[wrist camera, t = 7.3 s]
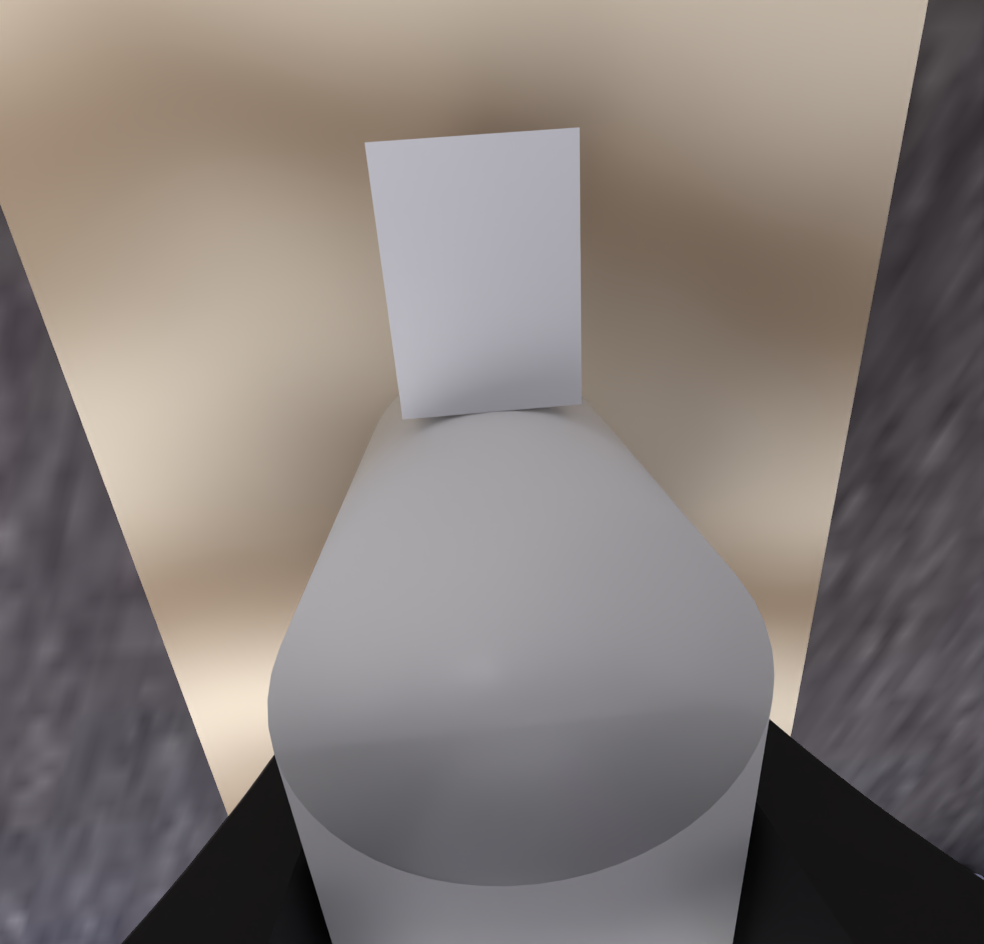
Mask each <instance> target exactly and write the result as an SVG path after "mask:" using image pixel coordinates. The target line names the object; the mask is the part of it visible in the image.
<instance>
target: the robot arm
mask: <svg viewBox="0 0 984 944" xmlns="http://www.w3.org/2000/svg"><path fill="white" fill-rule="evenodd" d="M122 944H332V941H331V938H330V935H329V931H328V928H327V925H326V922H325V918H324V915H323V912H322V908H321V905H320V902H319V899H318V895H317V892H316V889H315V886H314V882H313V879H312V876H311V872H310V869H309V866H308V863H307V859H306V856H305V853H304V850H303V846H302V843H301V840H300V836H299V833H298V830H297V827H296V823H295V820H294V817H293V814H292V810H291V807H290V804H289V801H288V797H287V794H286V791H285V787H284V784H283V781H282V778H281V774H280V771H279V768H278V765H277V761H276V758H275V755H273V757H272V758H271V760H270V761H269V762H268V764H267V765H266V766H265V768H264V769H263V771H262V772H261V773H260V775H259V776H258V778H257V779H256V780H255V782H254V783H253V784H252V786H251V787H250V789H249V790H248V791H247V793H246V794H245V795H244V797H243V798H242V799H241V800H240V802H239V803H238V804H237V806H236V807H235V808H234V809H233V811H232V812H231V813H230V814H229V816H228V817H227V818H226V820H225V821H224V822H223V823H222V825H221V826H220V827H219V828H218V830H217V831H216V832H215V834H214V835H213V836H212V837H211V839H210V840H209V841H208V842H207V844H206V845H205V846H204V847H203V849H202V850H201V851H200V853H199V854H198V855H197V856H196V858H195V859H194V860H193V861H192V863H191V864H190V865H189V866H188V867H187V869H186V870H185V871H184V872H183V873H182V875H181V876H180V877H179V878H178V879H177V881H176V882H175V883H174V884H173V885H172V886H171V888H170V889H169V890H168V891H167V892H166V894H165V895H164V896H163V897H162V898H161V899H160V901H159V902H158V903H157V904H156V905H155V906H154V908H153V909H152V910H151V911H150V912H149V913H148V914H147V916H146V917H145V918H144V919H143V920H142V921H141V922H140V923H139V925H138V926H137V927H136V928H135V929H134V930H133V931H132V932H131V934H130V935H129V936H128V937H127V938H126V939H125V940H124V941H123V943H122ZM733 944H984V878H983V876H982V875H979V874H976V873H973V872H971V871H970V870H968V869H967V868H965V867H964V866H963V865H961V864H960V863H958V862H957V861H955V860H954V859H953V858H951V857H950V856H948V855H947V854H945V853H944V852H942V851H941V850H940V849H938V848H937V847H935V846H934V845H932V844H931V843H930V842H928V841H927V840H925V839H924V838H922V837H921V836H919V835H918V834H917V833H915V832H914V831H912V830H911V829H909V828H908V827H907V826H905V825H904V824H902V823H901V822H899V821H898V820H897V819H895V818H894V817H893V816H891V815H890V814H889V813H887V812H886V811H884V810H883V809H882V808H880V807H879V806H878V805H876V804H875V803H874V802H872V801H871V800H870V799H868V798H867V797H866V796H864V795H863V794H862V793H860V792H859V791H858V790H856V789H855V788H854V787H853V786H851V785H850V784H849V783H847V782H846V781H845V780H844V779H842V778H841V777H840V776H838V775H837V774H836V773H835V772H833V771H832V770H831V769H829V768H828V767H827V766H826V765H824V764H823V763H822V762H821V761H819V760H818V759H817V758H816V757H814V756H813V755H812V754H811V753H810V752H808V751H807V750H806V749H805V748H803V747H802V746H801V745H800V744H799V743H797V742H796V741H795V740H794V739H793V738H791V737H790V736H789V735H788V734H787V733H786V732H784V731H783V730H782V729H781V728H780V727H779V726H777V725H776V724H775V723H774V722H773V721H771V720H770V719H769V724H768V731H767V737H766V743H765V749H764V755H763V761H762V767H761V773H760V779H759V785H758V791H757V798H756V804H755V810H754V816H753V822H752V828H751V834H750V840H749V846H748V852H747V858H746V865H745V871H744V877H743V883H742V889H741V895H740V901H739V907H738V913H737V919H736V925H735V932H734V938H733Z"/></svg>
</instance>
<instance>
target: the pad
mask: <svg viewBox="0 0 984 944" xmlns="http://www.w3.org/2000/svg"><path fill="white" fill-rule="evenodd" d="M927 4H928V0H0V204H1V207H2V210H3V212H4V215H5V218H6V220H7V223H8V226H9V228H10V231H11V234H12V236H13V239H14V242H15V244H16V247H17V250H18V253H19V255H20V258H21V261H22V263H23V266H24V269H25V271H26V274H27V277H28V279H29V282H30V285H31V287H32V290H33V293H34V295H35V298H36V301H37V304H38V306H39V309H40V312H41V314H42V317H43V320H44V322H45V325H46V328H47V330H48V333H49V336H50V338H51V341H52V344H53V346H54V349H55V352H56V355H57V357H58V360H59V363H60V365H61V368H62V371H63V373H64V376H65V379H66V381H67V384H68V387H69V389H70V392H71V395H72V397H73V400H74V403H75V406H76V408H77V411H78V414H79V416H80V419H81V422H82V424H83V427H84V430H85V432H86V435H87V438H88V440H89V443H90V446H91V448H92V451H93V454H94V457H95V459H96V462H97V465H98V467H99V470H100V473H101V475H102V478H103V481H104V483H105V486H106V489H107V491H108V494H109V497H110V499H111V502H112V505H113V508H114V510H115V513H116V516H117V518H118V521H119V524H120V526H121V529H122V532H123V534H124V537H125V540H126V542H127V545H128V548H129V550H130V553H131V556H132V559H133V561H134V564H135V567H136V569H137V572H138V575H139V577H140V580H141V583H142V585H143V588H144V591H145V593H146V596H147V599H148V601H149V604H150V607H151V610H152V612H153V615H154V618H155V620H156V623H157V626H158V628H159V631H160V634H161V636H162V639H163V642H164V644H165V647H166V650H167V652H168V655H169V658H170V661H171V663H172V666H173V669H174V671H175V674H176V677H177V679H178V682H179V685H180V687H181V690H182V693H183V695H184V698H185V701H186V703H187V706H188V709H189V712H190V714H191V717H192V720H193V722H194V725H195V728H196V730H197V733H198V736H199V738H200V741H201V744H202V746H203V749H204V752H205V754H206V757H207V760H208V763H209V765H210V768H211V771H212V773H213V776H214V779H215V781H216V784H217V787H218V789H219V792H220V795H221V797H222V800H223V803H224V805H225V808H226V811H227V813H228V816H229V814H230V813H231V812H232V811H233V809H234V808H235V807H236V806H237V804H238V803H239V802H240V800H241V799H242V798H243V797H244V795H245V794H246V793H247V791H248V790H249V789H250V787H251V786H252V784H253V783H254V782H255V780H256V779H257V778H258V776H259V775H260V773H261V772H262V771H263V769H264V768H265V766H266V765H267V764H268V762H269V761H270V760H271V758H272V757H273V755H274V751H273V747H272V742H271V737H270V733H269V728H268V706H267V699H268V692H269V685H270V678H271V673H272V670H273V666H274V663H275V660H276V657H277V654H278V651H279V648H280V645H281V643H282V641H283V639H284V636H285V634H286V632H287V629H288V627H289V625H290V623H291V620H292V618H293V616H294V613H295V611H296V609H297V606H298V604H299V602H300V600H301V597H302V595H303V593H304V590H305V588H306V586H307V584H308V581H309V579H310V577H311V574H312V572H313V570H314V568H315V565H316V563H317V561H318V558H319V556H320V554H321V551H322V549H323V547H324V545H325V542H326V540H327V538H328V535H329V533H330V531H331V529H332V526H333V524H334V522H335V519H336V517H337V515H338V513H339V510H340V508H341V506H342V503H343V501H344V499H345V496H346V494H347V492H348V490H349V487H350V485H351V483H352V480H353V478H354V476H355V474H356V471H357V469H358V467H359V464H360V462H361V460H362V458H363V455H364V453H365V451H366V448H367V446H368V444H369V441H370V439H371V437H372V435H373V432H374V430H375V428H376V426H377V424H378V422H379V420H380V418H381V416H382V415H383V414H384V412H385V411H386V409H387V408H388V407H389V405H390V404H391V402H392V401H393V400H394V399H395V398H396V397H397V396H398V395H399V389H398V381H397V374H396V367H395V360H394V352H393V345H392V338H391V331H390V323H389V316H388V309H387V302H386V294H385V287H384V280H383V273H382V266H381V258H380V251H379V244H378V237H377V229H376V222H375V215H374V208H373V200H372V193H371V186H370V179H369V171H368V164H367V157H366V150H365V142H377V141H392V140H406V139H420V138H435V137H449V136H463V135H478V134H492V133H506V132H521V131H535V130H549V129H564V128H578V127H580V253H581V380H582V396H583V397H584V398H585V399H586V400H587V401H588V403H589V404H590V405H591V406H592V407H593V408H594V410H595V411H596V412H597V413H598V414H599V415H600V417H601V418H602V419H603V420H604V421H605V422H606V424H607V425H608V426H609V427H610V428H611V429H612V431H613V432H614V433H615V434H616V435H617V436H618V438H619V439H620V440H621V441H622V442H623V443H624V445H625V446H626V447H627V448H628V449H629V450H630V452H631V453H632V454H633V455H634V456H635V457H636V459H637V460H638V461H639V462H640V463H641V464H642V466H643V467H644V468H645V469H646V470H647V471H648V473H649V474H650V475H651V476H652V477H653V479H654V480H655V481H656V482H657V483H658V484H659V486H660V487H661V488H662V489H663V490H664V491H665V493H666V494H667V495H668V496H669V497H670V498H671V500H672V501H673V502H674V503H675V504H676V505H677V507H678V508H679V509H680V510H681V511H682V512H683V514H684V515H685V516H686V517H687V518H688V519H689V521H690V522H691V523H692V524H693V525H694V526H695V528H696V529H697V530H698V531H699V532H700V533H701V535H702V536H703V537H704V538H705V539H706V540H707V542H708V543H709V544H710V545H711V546H712V547H713V549H714V550H715V551H716V552H717V553H718V554H719V556H720V557H721V558H722V559H723V560H724V561H725V563H726V564H727V565H728V566H729V567H730V568H731V570H732V571H733V572H734V573H735V574H736V575H737V577H738V578H739V579H740V581H741V582H742V584H743V585H744V586H745V588H746V589H747V591H748V592H749V594H750V595H751V596H752V598H753V599H754V601H755V603H756V605H757V607H758V609H759V612H760V614H761V616H762V618H763V620H764V622H765V624H766V628H767V632H768V635H769V639H770V643H771V646H772V651H773V663H774V674H775V676H774V688H773V700H772V706H771V712H770V718H769V719H770V720H771V721H773V722H774V723H775V724H776V725H777V726H779V727H780V728H781V729H782V730H783V731H784V732H786V733H787V734H788V735H789V736H790V737H791V732H792V726H793V721H794V715H795V710H796V705H797V699H798V694H799V689H800V683H801V678H802V673H803V667H804V662H805V657H806V651H807V646H808V641H809V635H810V630H811V625H812V619H813V614H814V609H815V603H816V598H817V593H818V587H819V582H820V576H821V571H822V566H823V560H824V555H825V550H826V544H827V539H828V534H829V528H830V523H831V518H832V512H833V507H834V502H835V496H836V491H837V486H838V480H839V475H840V470H841V464H842V459H843V454H844V448H845V443H846V437H847V432H848V427H849V421H850V416H851V411H852V405H853V400H854V395H855V389H856V384H857V379H858V373H859V368H860V363H861V357H862V352H863V347H864V341H865V336H866V331H867V325H868V320H869V315H870V309H871V304H872V298H873V293H874V288H875V282H876V277H877V272H878V266H879V261H880V256H881V250H882V245H883V240H884V234H885V229H886V224H887V218H888V213H889V208H890V202H891V197H892V192H893V186H894V181H895V176H896V170H897V165H898V159H899V154H900V149H901V143H902V138H903V133H904V127H905V122H906V117H907V111H908V106H909V101H910V95H911V90H912V85H913V79H914V74H915V69H916V63H917V58H918V53H919V47H920V42H921V37H922V31H923V26H924V20H925V15H926V10H927Z"/></svg>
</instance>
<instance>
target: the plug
mask: <svg viewBox="0 0 984 944" xmlns="http://www.w3.org/2000/svg"><path fill="white" fill-rule="evenodd" d="M365 150H366V157H367V164H368V171H369V179H370V186H371V193H372V200H373V208H374V215H375V222H376V229H377V237H378V244H379V251H380V258H381V266H382V273H383V280H384V287H385V294H386V302H387V309H388V316H389V323H390V331H391V338H392V345H393V352H394V360H395V367H396V374H397V381H398V389H399V395H398V396H397V397H396V398H395V399H394V400H393V401H392V402H391V404H390V405H389V407H388V408H387V409H386V411H385V412H384V414H383V415H382V416H381V418H380V420H379V422H378V424H377V426H376V428H375V430H374V432H373V435H372V437H371V439H370V441H369V444H368V446H367V448H366V451H365V453H364V455H363V458H362V460H361V462H360V464H359V467H358V469H357V471H356V474H355V476H354V478H353V480H352V483H351V485H350V487H349V490H348V492H347V494H346V496H345V499H344V501H343V503H342V506H341V508H340V510H339V513H338V515H337V517H336V519H335V522H334V524H333V526H332V529H331V531H330V533H329V535H328V538H327V540H326V542H325V545H324V547H323V549H322V551H321V554H320V556H319V558H318V561H317V563H316V565H315V568H314V570H313V572H312V574H311V577H310V579H309V581H308V584H307V586H306V588H305V590H304V593H303V595H302V597H301V600H300V602H299V604H298V606H297V609H296V611H295V613H294V616H293V618H292V620H291V623H290V625H289V627H288V629H287V632H286V634H285V636H284V639H283V641H282V643H281V645H280V648H279V651H278V654H277V657H276V660H275V663H274V666H273V670H272V673H271V678H270V685H269V692H268V699H267V706H268V728H269V733H270V737H271V742H272V747H273V751H274V755H275V758H276V761H277V765H278V768H279V771H280V774H281V778H282V781H283V784H284V787H285V791H286V794H287V797H288V801H289V804H290V807H291V810H292V814H293V817H294V820H295V823H296V827H297V830H298V833H299V836H300V840H301V843H302V846H303V850H304V853H305V856H306V859H307V863H308V866H309V869H310V872H311V876H312V879H313V882H314V886H315V889H316V892H317V895H318V899H319V902H320V905H321V908H322V912H323V915H324V918H325V922H326V925H327V928H328V931H329V935H330V938H331V941H332V944H733V938H734V932H735V925H736V919H737V913H738V907H739V901H740V895H741V889H742V883H743V877H744V871H745V865H746V858H747V852H748V846H749V840H750V834H751V828H752V822H753V816H754V810H755V804H756V798H757V791H758V785H759V779H760V773H761V767H762V761H763V755H764V749H765V743H766V737H767V731H768V724H769V718H770V712H771V706H772V700H773V688H774V676H775V674H774V663H773V651H772V646H771V643H770V639H769V635H768V632H767V628H766V624H765V622H764V620H763V618H762V616H761V614H760V612H759V609H758V607H757V605H756V603H755V601H754V599H753V598H752V596H751V595H750V594H749V592H748V591H747V589H746V588H745V586H744V585H743V584H742V582H741V581H740V579H739V578H738V577H737V575H736V574H735V573H734V572H733V571H732V570H731V568H730V567H729V566H728V565H727V564H726V563H725V561H724V560H723V559H722V558H721V557H720V556H719V554H718V553H717V552H716V551H715V550H714V549H713V547H712V546H711V545H710V544H709V543H708V542H707V540H706V539H705V538H704V537H703V536H702V535H701V533H700V532H699V531H698V530H697V529H696V528H695V526H694V525H693V524H692V523H691V522H690V521H689V519H688V518H687V517H686V516H685V515H684V514H683V512H682V511H681V510H680V509H679V508H678V507H677V505H676V504H675V503H674V502H673V501H672V500H671V498H670V497H669V496H668V495H667V494H666V493H665V491H664V490H663V489H662V488H661V487H660V486H659V484H658V483H657V482H656V481H655V480H654V479H653V477H652V476H651V475H650V474H649V473H648V471H647V470H646V469H645V468H644V467H643V466H642V464H641V463H640V462H639V461H638V460H637V459H636V457H635V456H634V455H633V454H632V453H631V452H630V450H629V449H628V448H627V447H626V446H625V445H624V443H623V442H622V441H621V440H620V439H619V438H618V436H617V435H616V434H615V433H614V432H613V431H612V429H611V428H610V427H609V426H608V425H607V424H606V422H605V421H604V420H603V419H602V418H601V417H600V415H599V414H598V413H597V412H596V411H595V410H594V408H593V407H592V406H591V405H590V404H589V403H588V401H587V400H586V399H585V398H584V397H583V396H582V380H581V253H580V127H578V128H564V129H549V130H535V131H521V132H506V133H492V134H478V135H463V136H449V137H435V138H420V139H406V140H392V141H377V142H365Z"/></svg>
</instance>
